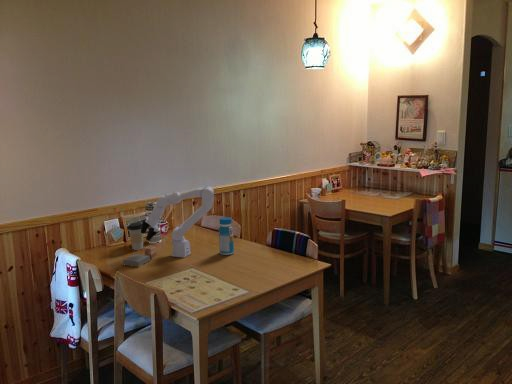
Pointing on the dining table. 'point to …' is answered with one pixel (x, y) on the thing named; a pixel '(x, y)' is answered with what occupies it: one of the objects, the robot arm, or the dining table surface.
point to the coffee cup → (136, 235)
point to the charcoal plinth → (136, 260)
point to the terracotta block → (150, 251)
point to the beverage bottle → (226, 236)
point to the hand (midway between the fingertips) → (144, 236)
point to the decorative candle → (157, 236)
